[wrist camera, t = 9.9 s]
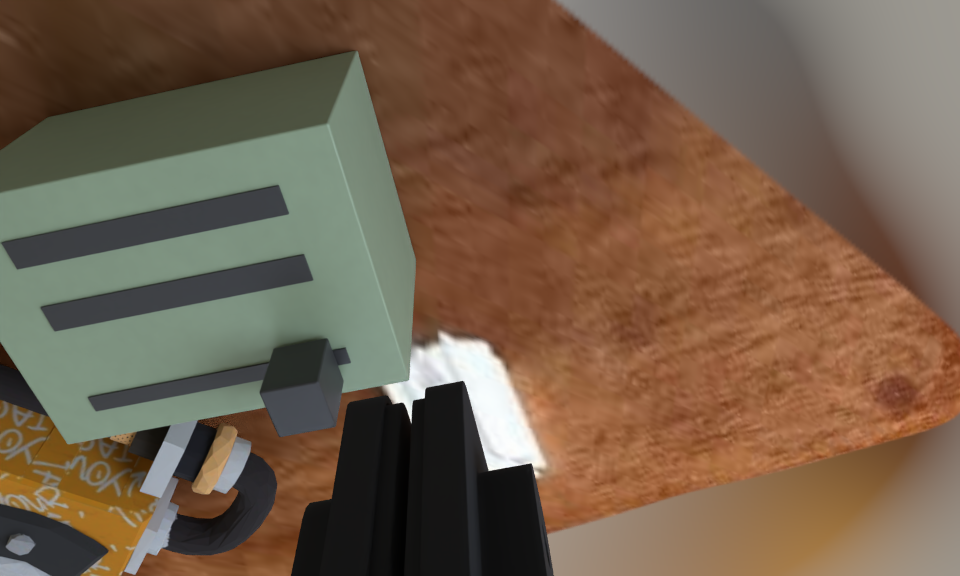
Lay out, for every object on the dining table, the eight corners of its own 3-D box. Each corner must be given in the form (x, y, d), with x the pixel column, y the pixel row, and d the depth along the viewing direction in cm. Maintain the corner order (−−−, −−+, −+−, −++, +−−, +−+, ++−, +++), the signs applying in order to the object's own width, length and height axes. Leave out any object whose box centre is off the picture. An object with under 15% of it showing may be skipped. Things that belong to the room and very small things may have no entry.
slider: (273, 347, 31) (257, 392, 29) (328, 337, 31) (318, 381, 29) (291, 391, 33) (278, 438, 30) (344, 381, 32) (336, 427, 30)
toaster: (46, 117, 37) (-90, 211, 28) (357, 49, 36) (327, 123, 27) (148, 314, 43) (66, 446, 34) (416, 260, 42) (409, 382, 33)
